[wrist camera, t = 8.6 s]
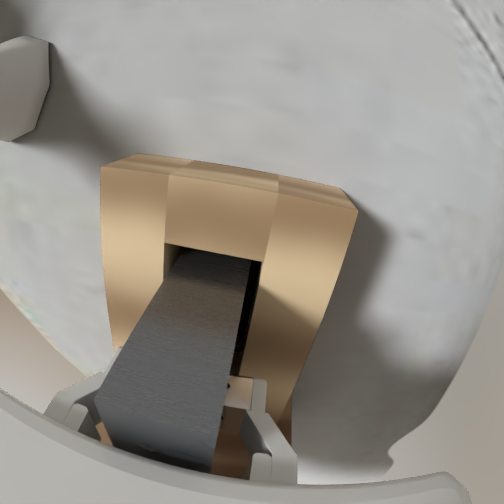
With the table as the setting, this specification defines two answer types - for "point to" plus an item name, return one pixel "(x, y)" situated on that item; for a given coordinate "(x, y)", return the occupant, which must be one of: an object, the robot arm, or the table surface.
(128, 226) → the tan slotted wooden fixture
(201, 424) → the brushed steel bar
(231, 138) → the table surface
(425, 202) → the table surface
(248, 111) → the table surface
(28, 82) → the flask
